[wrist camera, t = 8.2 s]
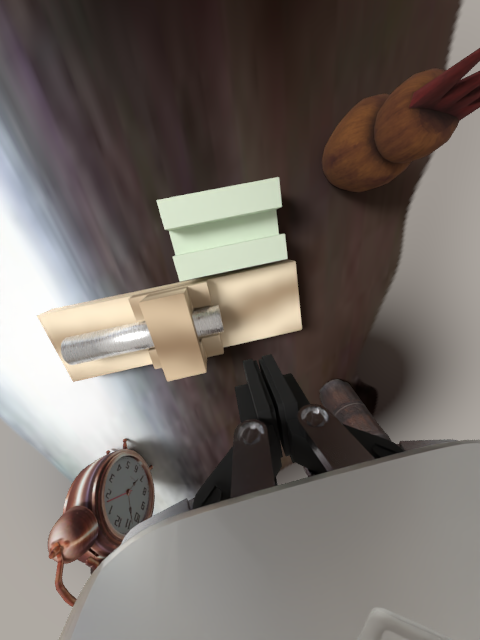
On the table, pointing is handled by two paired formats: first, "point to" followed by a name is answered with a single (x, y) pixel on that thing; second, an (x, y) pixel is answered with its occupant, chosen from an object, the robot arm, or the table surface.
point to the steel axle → (130, 338)
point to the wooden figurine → (400, 126)
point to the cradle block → (224, 228)
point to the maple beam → (185, 319)
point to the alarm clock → (101, 511)
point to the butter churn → (349, 407)
